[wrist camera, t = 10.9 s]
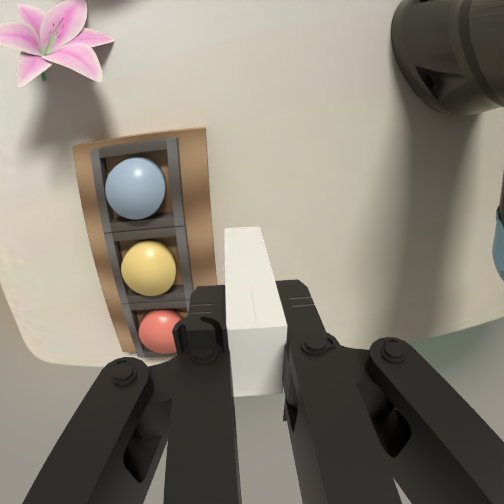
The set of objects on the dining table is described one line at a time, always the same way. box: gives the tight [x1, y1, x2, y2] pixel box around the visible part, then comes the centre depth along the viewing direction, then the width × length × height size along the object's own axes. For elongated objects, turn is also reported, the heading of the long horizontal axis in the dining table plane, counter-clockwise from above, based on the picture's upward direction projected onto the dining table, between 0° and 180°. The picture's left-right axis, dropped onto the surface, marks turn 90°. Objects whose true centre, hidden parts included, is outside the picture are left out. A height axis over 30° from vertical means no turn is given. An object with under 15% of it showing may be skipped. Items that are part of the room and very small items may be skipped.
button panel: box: [73, 127, 217, 358], centre depth 29 cm, size 23×12×4 cm, turn 1°
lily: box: [0, 0, 114, 87], centre depth 18 cm, size 12×12×10 cm
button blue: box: [105, 157, 167, 219], centre depth 24 cm, size 5×5×2 cm
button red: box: [139, 309, 183, 354], centre depth 31 cm, size 5×5×2 cm
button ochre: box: [121, 240, 177, 296], centre depth 28 cm, size 5×5×2 cm
